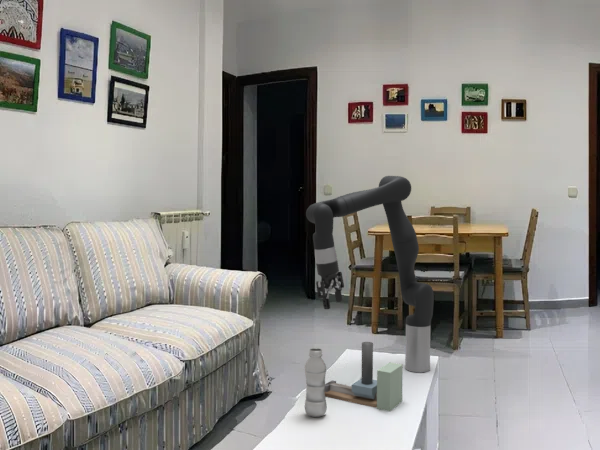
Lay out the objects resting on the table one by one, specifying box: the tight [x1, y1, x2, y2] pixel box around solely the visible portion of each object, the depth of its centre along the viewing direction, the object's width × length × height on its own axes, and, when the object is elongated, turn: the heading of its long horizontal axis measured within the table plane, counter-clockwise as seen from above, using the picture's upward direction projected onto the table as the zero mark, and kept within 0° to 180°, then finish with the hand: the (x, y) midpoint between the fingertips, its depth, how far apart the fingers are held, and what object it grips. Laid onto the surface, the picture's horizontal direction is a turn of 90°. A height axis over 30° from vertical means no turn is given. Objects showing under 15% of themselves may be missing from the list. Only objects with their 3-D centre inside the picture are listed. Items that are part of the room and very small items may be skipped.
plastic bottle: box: [304, 347, 328, 418], centre depth 167 cm, size 6×7×20 cm
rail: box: [324, 380, 377, 409], centre depth 183 cm, size 9×20×3 cm, turn 58°
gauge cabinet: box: [376, 361, 404, 412], centre depth 176 cm, size 10×5×12 cm, turn 148°
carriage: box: [351, 341, 377, 399], centre depth 180 cm, size 8×7×17 cm
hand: (333, 305), depth 196 cm, fingers open, 8 cm apart
